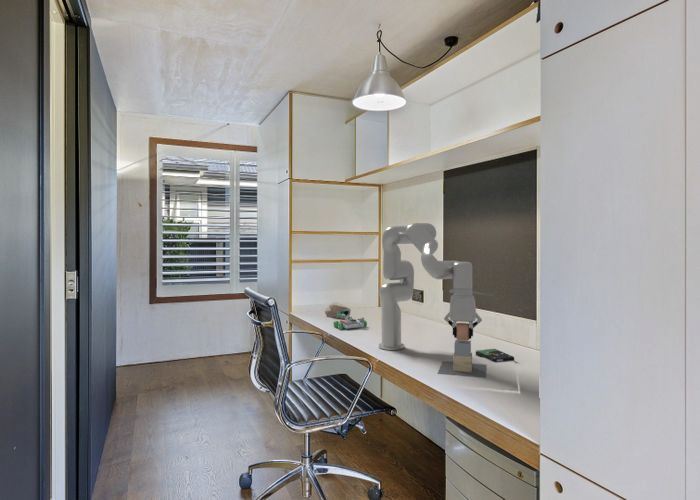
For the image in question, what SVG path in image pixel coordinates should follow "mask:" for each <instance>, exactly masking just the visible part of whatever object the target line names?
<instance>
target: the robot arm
mask: <svg viewBox="0 0 700 500" xmlns="http://www.w3.org/2000/svg"><path fill="white" fill-rule="evenodd" d="M436 236H437V230H436V227H435V226H434V225H433V224H432V223H429V222H414V223H411V224H409V225H393V226H389V227H387V228H385V229H384V231H383V233H382V236H381V244H382V250H383V258H382V259H383V260H382V263H383V264H382V274H383V278H384V279H385V280H387V281H398V282H389V283H384V284H382V285H381V286H380V288H379V292H378V295H379V300H380V306H381V307H380V308H381V342H380V343H379V344H378V348H380V349H382V350H385V351H398V350H403V349H404V348H405V343H402V310H401V307H400V306H399V304H398V303H399V302H406V301H410V300H411V299H412V298H413V295H414V287H415V286H414V285H415V269H414V266H413V264H412V263H411V262H410V261H408V260H402V252H401V249H400V246H399V245H400V244H401V245H409V244H411V245H414V247H415V248H416V249H417V250H418V251H419V253H421V254H420V256H421V257H420V259H421V264H422V267H423V269H424V270H425V271H426V272H427V273H428V274H429V276H431V278H433V279H436V280H448V279H449V280H450V279H451V280H452V289H449V291H448V292H449V293H450V294H452V295H451V296H450V301H449V311H448V313H447V314H446V315H445V316H444V318H443V319H444V321H445V322H447V323H448V325H449V326H451V328H452V336H453V337H454V339H456V323H458V322H459V323H468V324H469V325H470V329H469V338H470V339H469V340H471V339H472V337H474V328H475V327H476V326H477V325H479V324H480V323H481V322H482V321H483V319H482V317H480V315H479V314H478V313H477V310H476V309H477V306H476V305H477V304H476V299H475V296H474V295H473V264H472V263H471V262H470V261H459V260H438V259H437V258H436V257H435V256H434V253H436V251H437V250H438V249H439V243H438V241H437V240H436Z"/></svg>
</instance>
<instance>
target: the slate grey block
mask: <svg viewBox="0 0 700 500" xmlns="http://www.w3.org/2000/svg"><path fill="white" fill-rule="evenodd" d="M453 345H454V353H453V355H454V356H467V357H470V355H471V353H472V341H471V340H457V339H455V341H454V344H453Z"/></svg>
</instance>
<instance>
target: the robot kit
mask: <svg viewBox="0 0 700 500" xmlns="http://www.w3.org/2000/svg"><path fill="white" fill-rule="evenodd" d="M348 312H349V310H343V313H342V315H341V314H337V316H338V317H339V316H342V317H344V319H341V320H340V321H338V320H334V321H333V327H334V328H335V329H338V330H339V331H341V330H344V329H346V330H347V329H355V328H366V327H367V326H368V321H367V320H365V317H361V318H353V316H350V315H348ZM345 316H346V317H345Z"/></svg>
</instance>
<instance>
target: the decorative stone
mask: <svg viewBox="0 0 700 500" xmlns="http://www.w3.org/2000/svg"><path fill="white" fill-rule="evenodd" d="M343 310H349V312H348V315H349V316H350V315H351V311H352V310H351V308H350V307H348V306H346V305H344V304H341V303H339V302H332V303H331V304H329V306H328V307H326V308H325V311H324V314H325V316H327V317H329V318H333V319H334V318H335V319H341V320H345V319H344V317H342V316H339V317H338V316H337V314H341V315H342V313H343ZM345 317H346V316H345Z"/></svg>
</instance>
